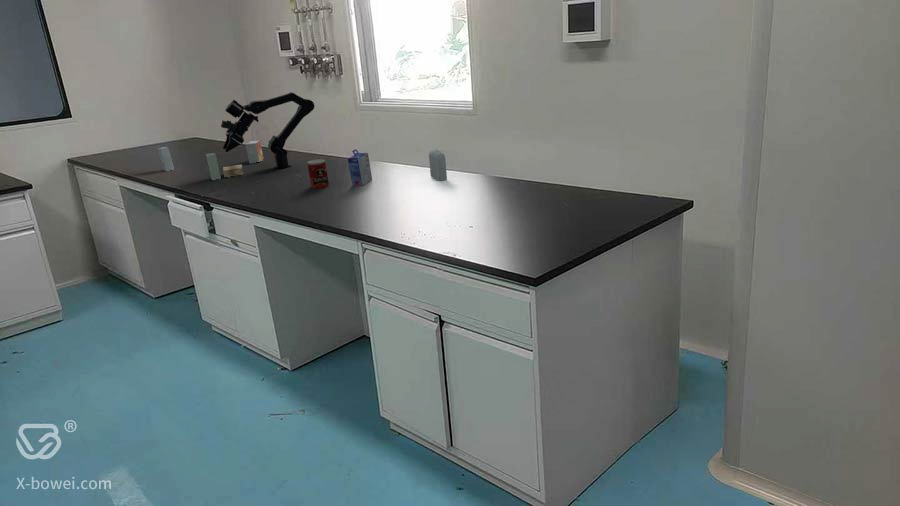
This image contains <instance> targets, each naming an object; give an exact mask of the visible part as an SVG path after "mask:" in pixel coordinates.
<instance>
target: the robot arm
mask: <svg viewBox="0 0 900 506" xmlns="http://www.w3.org/2000/svg"><path fill="white" fill-rule="evenodd" d="M291 102H292V103H295V104H296V105H298V106H297V109H296V112H295V113H294V115H293V116H292V117H291V118H290V120H289V121H288V122H287V124H286V125H285V126H284V127H283V129H282V130H281V132H280V133H279V134H278V135H276V136H275V135H272V137H271V139H269V140H268V143H267V149H268V150H269V151H270V152H272V153H273V155H274V161H275V166H273V168H274V169H278V168H280V170H281V168H282V169H286V168H289V167H292V165H291V164H289V159H288V151H287V150H286V149H284V146H285V144H286V141H287V140H288V138H289V137H290V135H291V134H292V133H293V132H294V131H295V129H296V128H297V126H298V125H299V124H300V123H301V121H303V119H304V118H305V117H306V116H308V115H309V114H310V113H311V112H312V111H314V109H315V103H314V101H312V100H311V99H308V98H304V97H302V96H299V95H297V94H296V93H295V92H287V93H285V94H283V95H278V96H276V97H271V98H269V99H259V100H253V101H250V102H249V104H246V105H242V104H241V103H239V102H238V101H237V100H236V99H232V101H230V103H229V104H228V105H227V106H226V108H225V112H226V113H227V114H229V115H230V116H232V117H234V118H235V119H236V118H239V119H238V121H235V122H232V121H231V120H229V119H227V120H223V119H222V121H221V124H220V128H223V129H227V130H225V136H226V139H225V142H224V144H223V147H222V149H223V150H224V151H225V153H228V152H230V151H231V150H233V149H235V148H237V147H238V146H241V145H243V144H244V143H245V138H244V135H245V134H246V133H247V132H248V131H249V128H250V127H251V125H252V124H253V122H254V121H255V122H257V123H259V116H258V115H260V114H261V113H264V112H266V111H267V110H268V109H271V108H273V107H277V106H280V105H285V104H286V103H291ZM247 112H249V113H247Z"/></svg>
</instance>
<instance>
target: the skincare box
mask: <svg viewBox="0 0 900 506" xmlns="http://www.w3.org/2000/svg"><path fill="white" fill-rule="evenodd" d="M157 152H158V155H159V159H160V162H161V166H162V169H163V171H165V172H171V171H170V170H172V171H175V167H174V163H173V159H172V156H171V152H170V149H169V147H167V146H163V147H157Z"/></svg>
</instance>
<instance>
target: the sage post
mask: <svg viewBox="0 0 900 506" xmlns="http://www.w3.org/2000/svg"><path fill="white" fill-rule="evenodd" d="M205 156H206V157H205V158H206V160H207V164H208V169H209V175H210V178H211V180H213V181H217V180H216V179H219V180H222V178H221V173H220V168H219V163H218V159H217V155H216V153H215V152H213V153H212V152H211V153H206V154H205Z"/></svg>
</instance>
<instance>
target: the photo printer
mask: <svg viewBox="0 0 900 506" xmlns="http://www.w3.org/2000/svg"><path fill="white" fill-rule="evenodd" d="M428 161H429V170H430V177H431V178H433V179H434V180H437V181H440V182H445V181H446V180H447V179H448V175H447V162H446V155H445V154H444V153H443V152H442V151H441V150H440V149H431V150H430V151H429V152H428Z"/></svg>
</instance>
